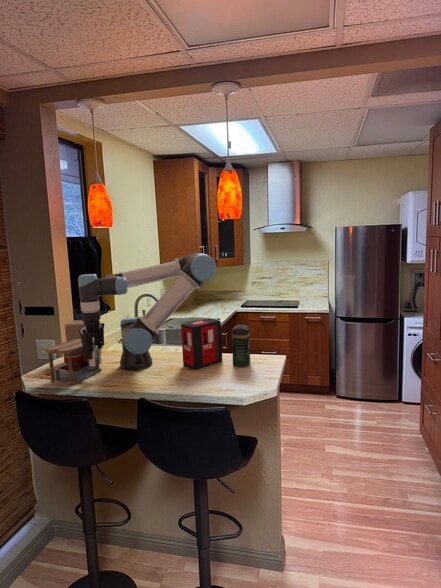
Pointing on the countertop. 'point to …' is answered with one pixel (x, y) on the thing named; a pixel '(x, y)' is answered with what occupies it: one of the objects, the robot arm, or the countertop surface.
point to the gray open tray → (80, 373)
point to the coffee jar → (241, 346)
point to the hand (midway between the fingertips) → (95, 364)
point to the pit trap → (46, 375)
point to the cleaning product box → (201, 343)
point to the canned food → (74, 361)
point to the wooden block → (73, 330)
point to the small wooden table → (67, 349)
